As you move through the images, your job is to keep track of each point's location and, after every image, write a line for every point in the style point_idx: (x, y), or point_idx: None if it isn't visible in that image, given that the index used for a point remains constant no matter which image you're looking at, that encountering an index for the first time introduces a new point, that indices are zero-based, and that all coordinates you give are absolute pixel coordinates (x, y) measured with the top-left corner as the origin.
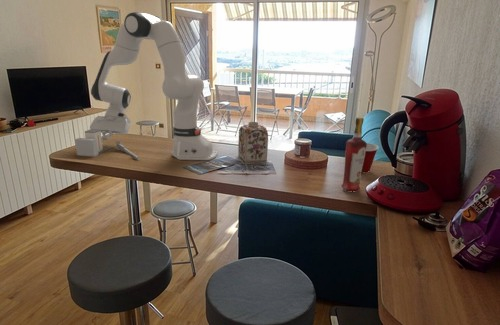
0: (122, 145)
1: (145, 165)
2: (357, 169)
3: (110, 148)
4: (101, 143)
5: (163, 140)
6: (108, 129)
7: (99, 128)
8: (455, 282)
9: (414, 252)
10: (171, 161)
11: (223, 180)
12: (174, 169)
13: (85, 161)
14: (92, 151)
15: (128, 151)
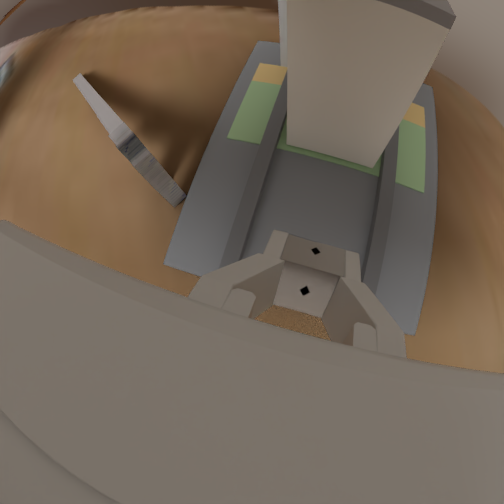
0: (107, 123)
1: (76, 47)
2: None
3: (239, 212)
4: (289, 94)
5: None
6: (248, 321)
7: (480, 378)
8: (17, 5)
9: (6, 16)
10: (8, 103)
11: (4, 51)
12: (31, 55)
13: None
14: None
15: (94, 92)
